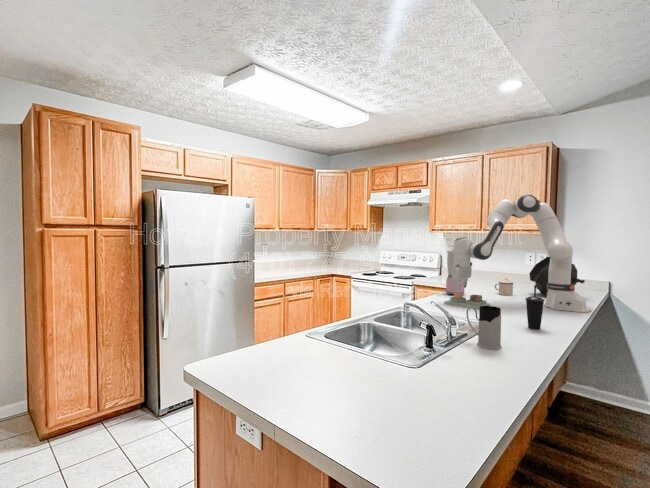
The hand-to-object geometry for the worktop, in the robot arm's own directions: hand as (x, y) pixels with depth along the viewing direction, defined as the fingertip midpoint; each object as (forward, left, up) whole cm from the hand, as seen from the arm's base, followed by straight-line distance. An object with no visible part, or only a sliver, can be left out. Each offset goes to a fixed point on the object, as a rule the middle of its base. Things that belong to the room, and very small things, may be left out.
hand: (461, 286), depth 218 cm
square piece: (-9, +1, -9) cm, 13 cm away
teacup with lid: (-6, -54, -11) cm, 55 cm away
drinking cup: (-48, +29, -11) cm, 57 cm away
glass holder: (-41, +70, -11) cm, 82 cm away
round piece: (+2, +1, -9) cm, 9 cm away
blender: (+16, -28, -11) cm, 34 cm away
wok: (-34, -72, -11) cm, 80 cm away
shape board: (-4, +1, -11) cm, 12 cm away
